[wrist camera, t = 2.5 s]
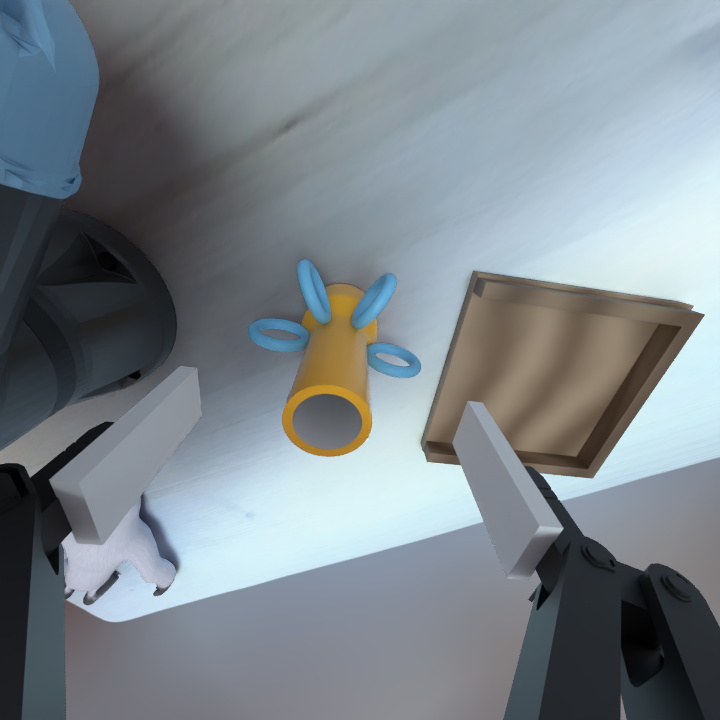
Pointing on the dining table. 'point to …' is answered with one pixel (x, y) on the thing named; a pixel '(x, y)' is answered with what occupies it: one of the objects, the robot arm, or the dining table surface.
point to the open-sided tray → (554, 368)
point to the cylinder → (334, 361)
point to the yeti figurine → (116, 559)
